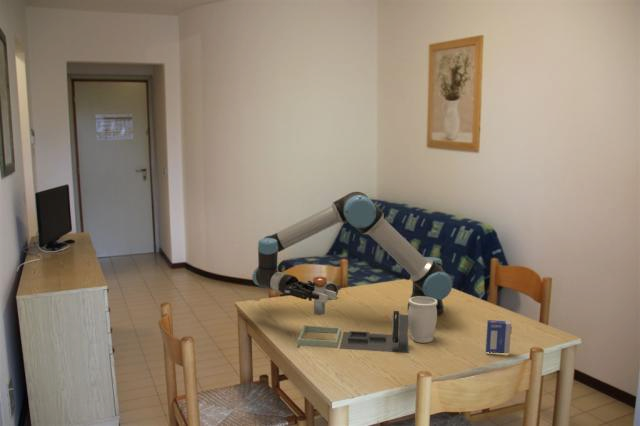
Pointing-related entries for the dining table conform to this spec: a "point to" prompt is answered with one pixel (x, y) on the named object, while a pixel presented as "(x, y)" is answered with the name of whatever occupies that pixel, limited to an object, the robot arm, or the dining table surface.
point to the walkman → (498, 336)
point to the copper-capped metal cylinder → (319, 287)
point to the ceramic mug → (331, 287)
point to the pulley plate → (380, 338)
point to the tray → (319, 342)
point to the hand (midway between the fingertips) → (331, 297)
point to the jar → (422, 318)
